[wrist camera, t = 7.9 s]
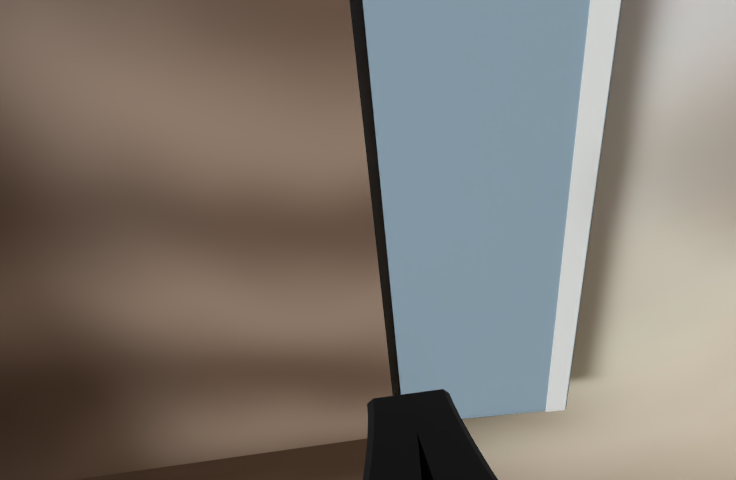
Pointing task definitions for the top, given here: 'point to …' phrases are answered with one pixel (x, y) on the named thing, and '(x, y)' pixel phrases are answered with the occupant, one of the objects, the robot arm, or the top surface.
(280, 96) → the cart bed
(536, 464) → the top surface
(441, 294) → the tailgate
